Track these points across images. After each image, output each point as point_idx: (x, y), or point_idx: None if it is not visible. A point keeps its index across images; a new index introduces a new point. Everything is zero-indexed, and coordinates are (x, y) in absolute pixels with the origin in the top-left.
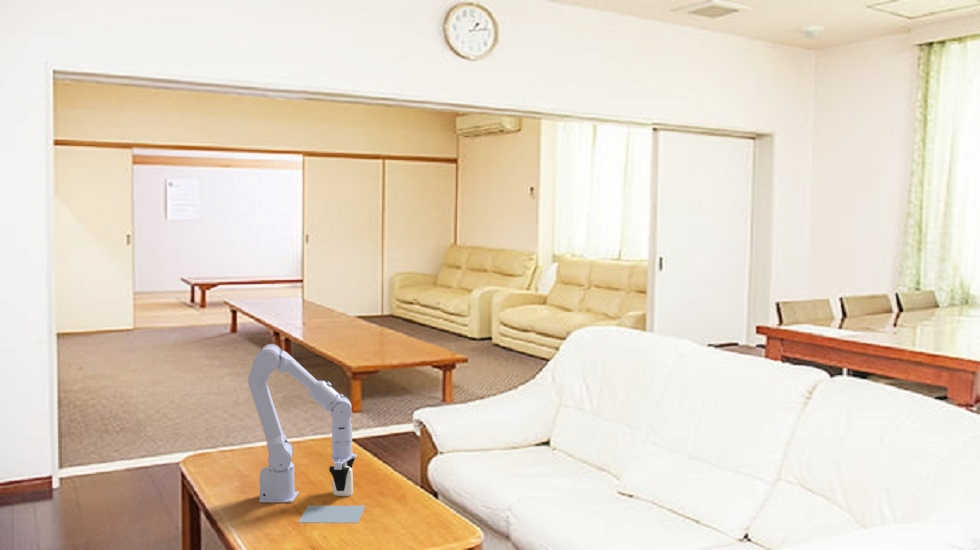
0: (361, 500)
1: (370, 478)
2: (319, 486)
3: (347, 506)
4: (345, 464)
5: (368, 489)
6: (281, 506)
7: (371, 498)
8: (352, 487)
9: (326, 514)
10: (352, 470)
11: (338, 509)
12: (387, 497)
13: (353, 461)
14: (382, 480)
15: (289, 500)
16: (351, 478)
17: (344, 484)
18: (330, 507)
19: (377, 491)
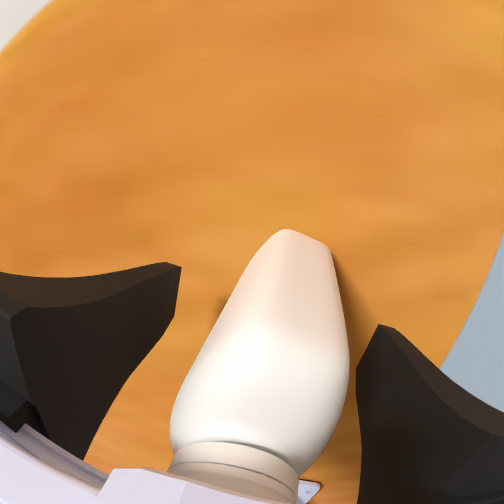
0: (434, 185)
1: (46, 109)
2: (129, 380)
3: (492, 286)
4: (286, 483)
5: (219, 106)
6: (339, 497)
7: (415, 109)
8: (305, 247)
9: None
10: (277, 318)
11: (502, 333)
12: (412, 11)
13: (53, 307)
14: (87, 36)
15: (306, 490)
16: (327, 294)
17: (421, 356)
18: (460, 369)
19: (278, 47)
